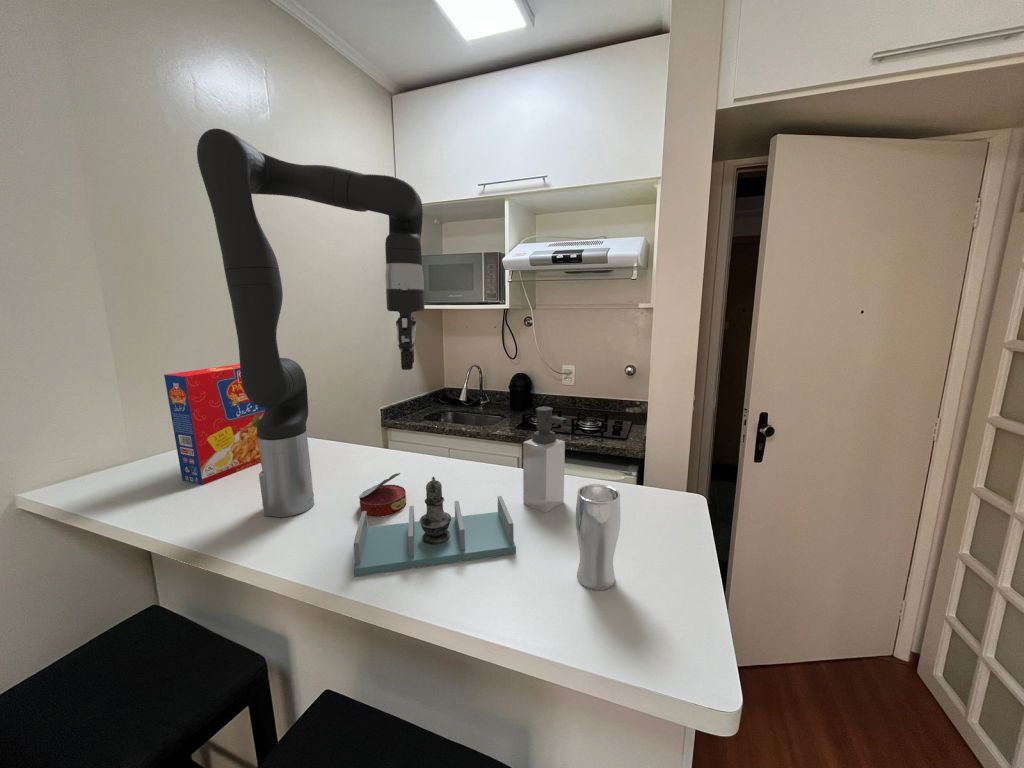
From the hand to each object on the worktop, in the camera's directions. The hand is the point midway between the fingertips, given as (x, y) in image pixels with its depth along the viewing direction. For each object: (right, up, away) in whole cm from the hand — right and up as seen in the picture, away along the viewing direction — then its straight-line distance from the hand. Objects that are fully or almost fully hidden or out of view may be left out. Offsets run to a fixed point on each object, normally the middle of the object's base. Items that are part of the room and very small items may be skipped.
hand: (408, 366), depth 87 cm
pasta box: (-55, -27, +31) cm, 68 cm away
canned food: (-7, -31, +5) cm, 33 cm away
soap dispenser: (+30, -31, +5) cm, 43 cm away
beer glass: (+36, -36, -20) cm, 54 cm away
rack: (+8, -34, -10) cm, 36 cm away
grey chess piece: (+8, -33, -10) cm, 35 cm away
